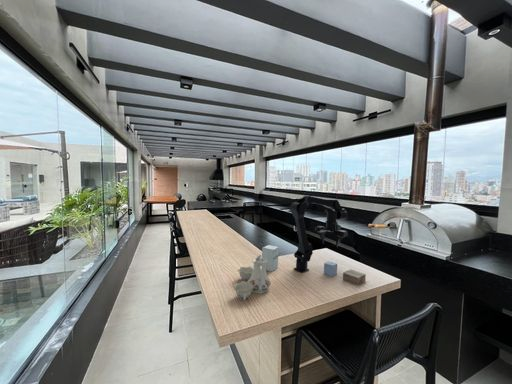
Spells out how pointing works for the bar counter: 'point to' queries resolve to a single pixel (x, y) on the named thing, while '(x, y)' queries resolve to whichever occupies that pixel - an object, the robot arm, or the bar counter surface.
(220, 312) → the bar counter surface
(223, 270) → the bar counter surface
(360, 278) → the walnut block
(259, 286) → the grey lumpy piece
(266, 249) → the supplement box
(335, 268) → the slate block
